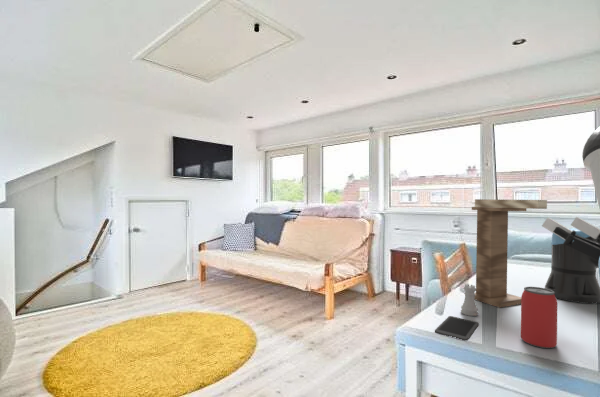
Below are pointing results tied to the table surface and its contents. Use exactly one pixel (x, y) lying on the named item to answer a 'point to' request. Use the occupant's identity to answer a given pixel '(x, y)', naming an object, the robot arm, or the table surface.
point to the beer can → (539, 317)
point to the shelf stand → (493, 256)
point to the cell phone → (457, 327)
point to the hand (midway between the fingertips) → (559, 221)
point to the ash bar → (512, 203)
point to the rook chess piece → (469, 301)
